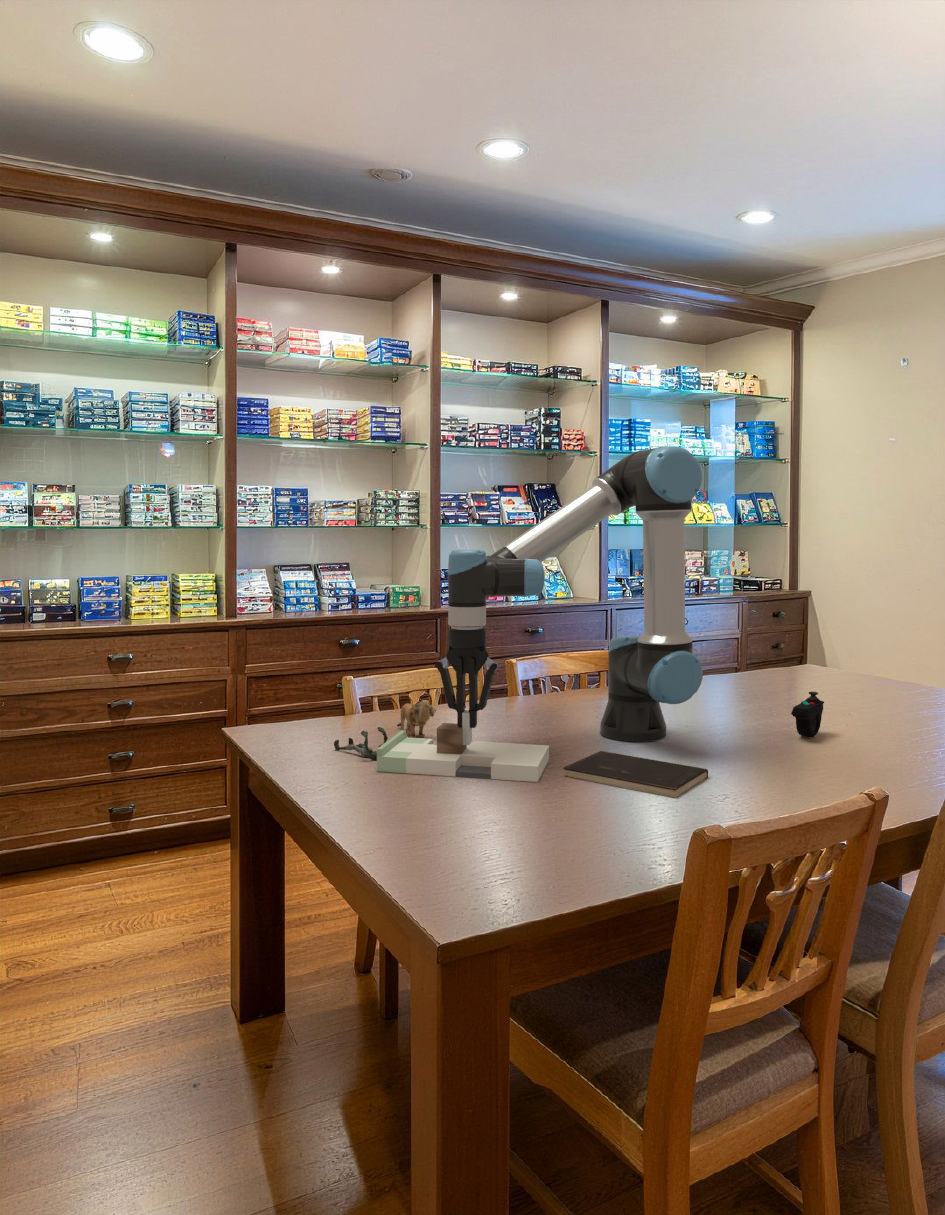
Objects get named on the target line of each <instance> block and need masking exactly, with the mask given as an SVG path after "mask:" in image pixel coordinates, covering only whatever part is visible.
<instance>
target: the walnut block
mask: <svg viewBox="0 0 945 1215" xmlns="http://www.w3.org/2000/svg"><path fill="white" fill-rule="evenodd" d="M436 745H437V753H445V754H462V753H463V752H464V751H465V750H466V748H467V745H462V728H461V727H458V725H457V723H451V722H450V723H449V722H443V723H441V724H440V725H439V726H438V727H437V728H436Z"/></svg>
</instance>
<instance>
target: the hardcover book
mask: <svg viewBox="0 0 945 1215" xmlns="http://www.w3.org/2000/svg"><path fill="white" fill-rule="evenodd" d="M562 770H564V771H565V772H564V773H565V774H564V775H565V777H569V778H575V779H578V780H582V781H589V782H593V783H598V784H599V783H600V784H603V785H609V786H614V787H620V788H625V789H629V790H634V791H640V792H643V793H644V792H645V793H648V794H654V795H659V794H660V795H661V796H664V795H665V796H664V797H670V798H676V797H678V796H679V795H681V794H682V792H683V793H684V792H686V791H687V790H689V789H690V788H689V787H691V788H692V787H694V786H695V785H698V784H699V783H700V782H701V780H702V781H703V780H705V779H707V778H706V777H708V778H709V770H708V768H705V767H704V768H703V767H697V766H692V765H687V764H681V763H674V762H667V761H663V760H656V759H651V758H644V757H641V756H640V757H638V756H633V755H627V754H623V753H622V754H621V753H618V752H617V753H616V752H610V751H604V750H599V751H597V752H595V753H593V754H590V755H589V756H587V757H584V758H582V759H579V760H577V761H575V762H573V763H570V764H568V765H565V766H564V767H562ZM698 782H699V783H698ZM688 788H689V789H688ZM660 795H659V796H660ZM677 795H678V796H677Z"/></svg>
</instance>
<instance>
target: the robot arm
mask: <svg viewBox="0 0 945 1215" xmlns="http://www.w3.org/2000/svg"><path fill="white" fill-rule="evenodd" d="M702 482H703V474H702V467H701V465H700V463H699V461H698V459H697V458H696V457H695V455H693V454H692V452H690V451H689V450H687V449H686V448H684V447H682V446H675V445H674V446H670V445H665V446H658V447H654V448H649V449H644V450H639V451H635V452H631V453H629V454H628V455H626V456H624V457H623V458H622V459H621V460H619V461H618V462H616V463H614V464H613V465H612V466H610V467H609V468H607V469H606V470H605V471H604V472H602V473H601V474H600V475H599V476H597V477H595V478H593V480H592V482H591V486H590V487H589V488H588V489H586V490H585V491H583V492H581V493H580V494H579V495H577V496H576V497H574V498H572V499H571V500H569V501H568V502H567V503H566V504H565V503H564V505H562V506H561V507H560V508H558V509H557V510H555V511H554V512H552V513H551V514H550V515H548V516H546V517H545V518H544V519H542V520H541V521H540V522H538V523H536V524H534V525H533V526H532V527H531V528H529V529H527V530H526V531H525V532H523V533H522V534H521V535H518V536H517V537H516V538H515V539H513V540H511V541H510V542H509V543H507V544H506V545H504V546H503V547H501V548H500V549H498V550H496V552H494V553H493V554H491V555H487V552H486V550H484V549H453V550H452V551H450V553H449V554H448V562H447V563H448V565H447V583H448V584H447V590H448V609H447V610H448V611H447V614H448V616H447V620H448V622H447V624H448V626H450V628H448V630H447V631H448V632H447V633H448V634H447V635H448V638H447V642H448V644H447V645H448V646H447V652H446V654H445V657H443V658H442V659H439V660H438V661H436V662H435V664H434V666H435V668H436V669H437V671H438V672H439V674H440V678H441V679H440V680H441V682H442V686H443V690H444V694H445V699H446V703H447V707H448V708H449V709H452V710H455V711H456V714H457V719H456V720H457V723H456V724H457V725H458V727H461V728H462V745H470V744H471V743H472V741H473V729H476V728H477V725H478V712H479V711H482V710H484V709H485V708H486V707H487V704H488V700H489V695H490V692H491V687H492V684H493V679H494V675H495V673H496V671H497V669H499V666H500V663H499V662H498V661H494V660H493V659H491V658H490V656H489V653H488V651H487V630H486V628H485V626H486V625H487V598H489V597H490V598H491V597H525V598H527V597H531V596H533V597H534V596H538V595H540V594H541V593H542V592H543V590H544V587H545V581H546V580H545V579H546V575H545V574H546V573H545V568H544V565H543V564H542V563H543V562H544V561H546V560H547V559H549V558H550V557H551V556H552V555H554V554H556V553H558V551H561V549H563V548H564V547H566V546H567V545H569V544H570V543H571V542H573V541H575V540H577V538H579V537H580V536H581V535H583V534H585V533H587V531H589V530H591V529H592V528H594V527H595V526H596V525H598V524H599V523H601V522H602V521H604V520H605V519H607V518H608V517H609V516H611V515H612V516H619V515H620V514H622V513H623V512H625V511H627V510H628V509H630V508H633V507H635V514H636V515H637V516H638V517H640V519H641V520H642V540H643V541H642V542H643V543H642V545H643V546H642V549H643V550H642V552H643V554H642V556H643V558H642V559H643V562H642V563H643V624H644V625H643V633H642V634H640V635H639V636H636V635H635V636H618V637H617V636H616V637H613V638H611V640H610V641H609V645H608V651H607V655H608V677H607V678H608V681H607V682H608V683H607V684H608V694H607V695H608V697H607V702H606V703H607V704H606V706H605V709H604V712H603V715H602V718H601V721H600V726H599V731H600V732H599V733H600V735H602V736H603V737H604V738H607V739H611V740H616V741H623V742H632V743H633V742H635V743H637V742H638V743H639V742H641V743H642V742H655V741H659V740H662V739H664V738H666V737H667V723H666V721H665V717H664V714H663V711H662V708H661V704H668V705H679V704H683V703H685V702H687V701H689V700H691V698H692V697H693V696H694V695H695V694H696V693H697V692H698V691H699V688H700V687H701V685H702V682H703V676H704V675H703V673H704V669H703V666H702V664H701V661H700V660H699V658H697V657H696V654H693V652H694V651H693V638H692V637H691V636H690V635H689V634H688V633H687V632H686V584H685V583H686V581H685V580H686V579H685V578H686V575H685V574H686V573H685V569H686V568H685V564H686V563H685V559H686V558H685V557H686V555H685V547H686V546H685V521H686V520H685V519H686V517H687V516H689V515H690V513H691V512H692V511H693V509H692V503H693V500H692V499H693V498H694V497H695V496H696V495H697V493H698V492H699V491H700V489H701V486H702ZM449 664H450V665H449ZM485 664H486V666H485V670H486V673H485V676H484V681H483V684H482V688H481V692H480V697H479V698H478V690H479V688H478V683H479V682H478V680H479V679H478V677H479V672H480V671H481V669H482V668H483V666H484V665H485ZM450 666H451V667H452V668H453V670H454V671H455V673H456V674H455V678H456V694H455V691H454V686H453V682H452V677H451V674H450V670H449V667H450ZM466 675H468V710H467V709H466V708H467V705H466ZM478 700H479V701H478ZM660 703H661V704H660Z"/></svg>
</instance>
